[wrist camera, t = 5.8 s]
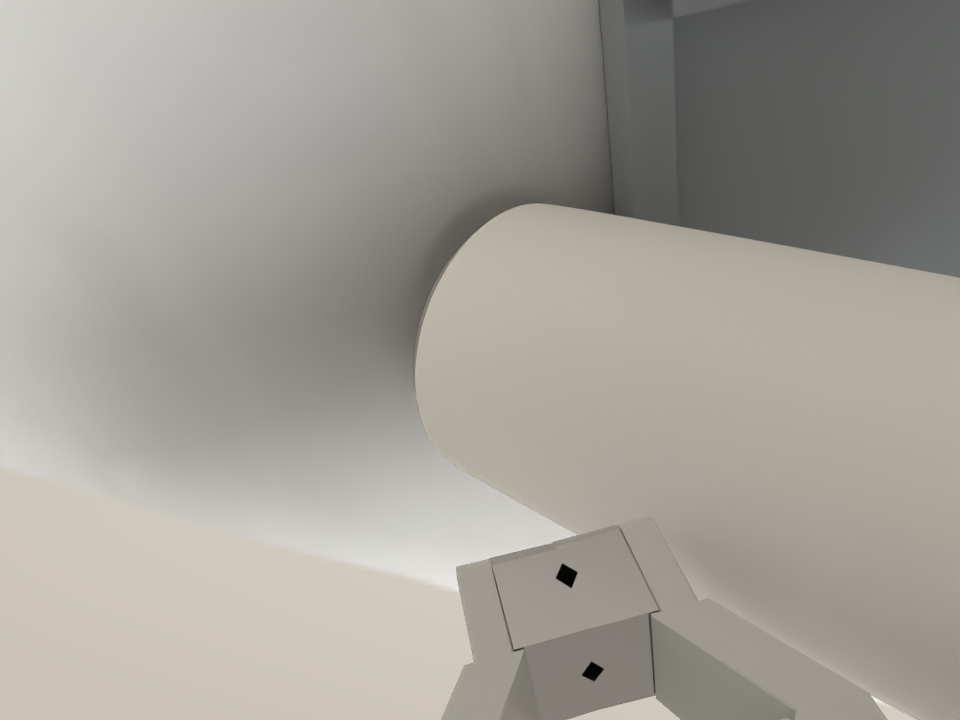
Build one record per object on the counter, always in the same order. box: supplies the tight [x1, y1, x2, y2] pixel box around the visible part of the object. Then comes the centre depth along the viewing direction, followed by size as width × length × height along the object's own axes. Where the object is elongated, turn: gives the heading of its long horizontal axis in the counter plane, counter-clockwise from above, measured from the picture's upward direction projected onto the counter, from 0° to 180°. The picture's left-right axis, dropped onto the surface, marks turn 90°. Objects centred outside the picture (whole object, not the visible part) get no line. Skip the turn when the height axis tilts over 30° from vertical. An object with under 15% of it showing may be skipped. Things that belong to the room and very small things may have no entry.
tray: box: [599, 0, 960, 278], centre depth 19 cm, size 16×14×2 cm
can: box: [413, 203, 960, 720], centre depth 13 cm, size 6×6×12 cm
